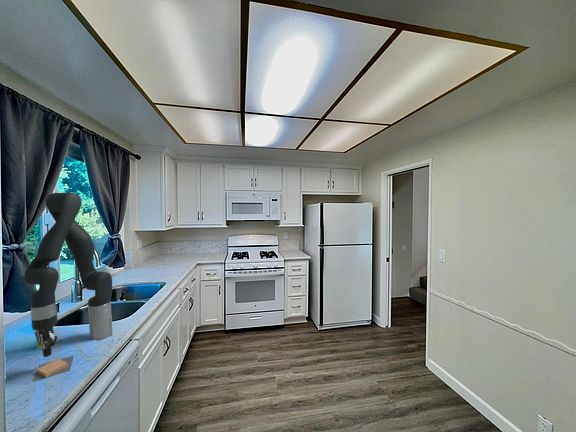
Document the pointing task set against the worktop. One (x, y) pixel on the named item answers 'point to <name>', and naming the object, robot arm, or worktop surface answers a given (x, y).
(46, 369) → the tile
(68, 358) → the mat
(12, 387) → the worktop surface
